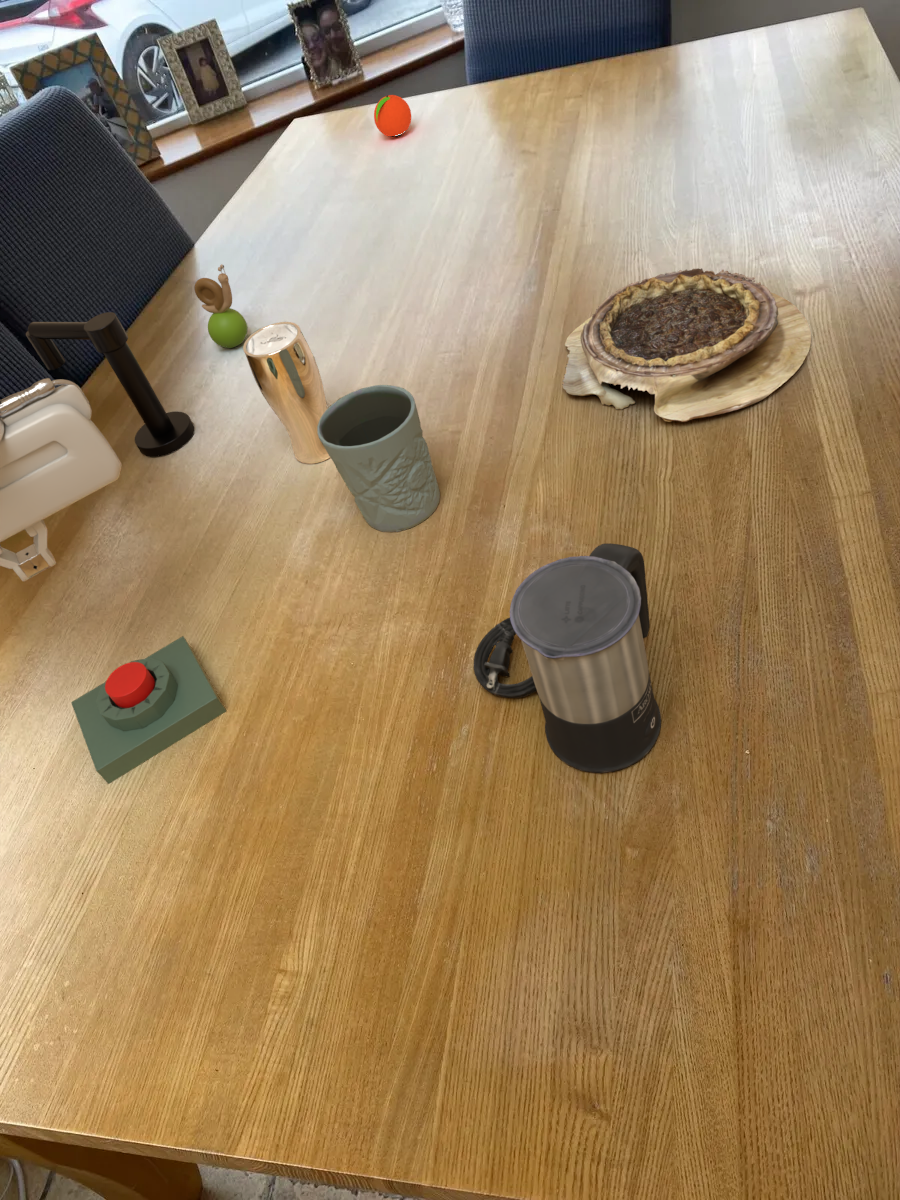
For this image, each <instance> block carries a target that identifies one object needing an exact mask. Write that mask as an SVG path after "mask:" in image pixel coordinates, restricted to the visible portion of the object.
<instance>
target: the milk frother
mask: <svg viewBox="0 0 900 1200" xmlns="http://www.w3.org/2000/svg"><path fill="white" fill-rule="evenodd" d="M509 607H510V608H509V617H507V618H504V619H503V620H502V621H500V622H499V623H497V624H495V626H493V628H491V629H490V630H489V631H488V632H487V633H486V634H484V636H483V637H482V640H481V641H480V642H479V643H478V645H477V647H476V650H475V652H474V655H473V656H474V657H473V673H474V676H475V678H476V680H477V682H478V684H480V686H481V687H482V688H483V689H484V690H485V691H487V692H488V693H489V694H492V695H493V696H496V697H501V698H506V699H520V698H525V697H527V696H529V695H532V694H534V693H536V692H537V696H538V699H539V702H540V705H541V709H542V713H543V717H544V721H545V723H544V724H545V725H544V734H545V737H546V741H547V743H548V745H549V747H550V749H551V751H552V752H553V753H554V755H555V756H556V757H557V758H558V759H559V760H560V761H562V762H563V763H565V764H566V765H567V766H569V767H571V768H574V769H576V770H579V771H581V772H587V773H593V774H594V773H596V774H603V773H612V772H617V771H620V770H624V769H627V768H629V767H630V766H633V765H635V764H636V763H638V762H639V761H641V760H642V759H644V757H645V756H647V754H649V752H650V751H651V750H652V749H653V747H654V746H655V744H656V742H657V741H658V737H659V735H660V732H661V728H662V716H661V715H662V714H661V710H660V707H659V704H658V702H657V700H656V698H655V695H654V691H653V686H652V680H651V676H650V675H651V674H650V669H649V664H648V663H649V662H648V657H647V652H646V646H645V641H644V639H646V638H647V637H648V636H649V632H650V627H651V624H650V612H649V601H648V590H647V579H646V567H645V559H644V556H643V553H642V552H641V551H640V550H639V549H637V548H636V547H632V546H629V545H624V544H618V543H612V542H611V543H609V542H608V543H602V544H599V545H597V546H596V547H595V548H594V549H593V550H592V551H591V553H590V554H589V555H584V556H583V555H578V556H568V557H564V558H560V559H559V558H558V559H557V560H555V561H552V562H549V563H547V564H545V565H543V566H541V567H539V568H538V569H536V570H534V571H533V572H531V573H530V574H529V575H528V576H527V577H525V579H524V580H523V581H522V582H521V583H520V584H519V586H518V587H517V588H516V589H515V591H514V594H513V596H512V599H511V603H510V606H509ZM515 635H516V636H517V637H518V638H519V640H520V642H521V645H522V649H523V651H524V654H525V657H526V660H527V663H528V666H529V670H530V673H531V676H530V677H528V678H526V679H525V680H522V681H520V682H517V683H512V684H510V683H502V682H499V677H500V676H502V677H505V678H510V675H511V674H510V672H509V668H510V661H511V654H512V653H513V650H514V649H512V648H513V647H512V644H513V642H514V641H515ZM489 657H490V658H489Z"/></svg>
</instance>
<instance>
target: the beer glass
mask: <svg viewBox="0 0 900 1200" xmlns="http://www.w3.org/2000/svg"><path fill="white" fill-rule="evenodd" d="M242 348H243V349H242V350H243V353H244V355H245V357H246V360H247V363H248V365H249V368H250V371H251V374H252V376H253V378H254V381H255V382H256V385H257V387H258V389H259V391H260V393H261V394H262V396H263V398H264V399H265V401H266V403H267V404H268V405H269V407H270V408H271V410H272V411H273V412H274V414H275V415H276V417H277V418H278V420H279V421H280V422H281V423H282V425H283V427H284V428H285V430H286V431H287V434H288V436H289V439H290V442H291V446H292V452H293V454H294V457H295V459H296V460H297V461H298V462H299V463H302V464H306V465H312V464H319V463H322V462H325V461H327V460H329V459H331V457H330V456H329V454H328V453H327V451H326V449H325V448H324V446H323V444H322V442H321V441H320V439H319V437H318V432H317V426H318V423H319V420H320V418H321V416H322V415H323V414H324V412H325V411H326V410H327V409H328V408H329V407H328V405H327V400H326V396H325V395H326V394H325V390H324V385H323V381H322V377H321V372H320V369H319V367H318V364H317V362H316V358H315V356H314V353H313V351H312V350H311V347H310V346H309V344H308V341H307V339H306V338H305V336H304V334H303V332H302V330H301V327H300V325H298V324H297V323H295V322H292V321H279V322H274V323H271V324H268V325H266V326H263V327H261V328H259V329H258V330H256V331H254V332H253V333H252V334H250V335H249V336H248V337H247V339H246V340H244V342H243V347H242Z"/></svg>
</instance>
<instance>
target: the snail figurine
mask: <svg viewBox="0 0 900 1200" xmlns="http://www.w3.org/2000/svg"><path fill="white" fill-rule="evenodd" d="M222 270H223V272H224V273H223V272H222ZM217 271H219V272H220V273H219V274H218V275H217V280H218V282H217V281H216V280H214V279H212V278H209V277H201V278H199V279H197V280H196V282H195V284H194V287H193V288H194V293H195V296H196V297H197V299H198V300H199V301H200V302H201V303H203V304H201V308H203V309H204V311H206V312H208V313H210V314H211V315H210V317H209V318H208V322H207V331H208V335H209V337H210V339H211V340H212V341H213V342H214V343H215V344H216V345H218V346H220V347H222V348H226V349H232V348H235V347H238V346H240V345H241V344H242V343H244V342H245V339H246V337H247V335H248V325H247V322H246V319H245V317H244V316H243V315H242V314H241V313H240V312H239V311H237V310H236V309H234V308H231V307H232V305H233V294H232V288H231V284H230V282H229V277H228V274H227V273H226V271H225V265H224V264H223V263H222V264H221V263H220V265H219V266H218V267H217Z"/></svg>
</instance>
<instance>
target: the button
mask: <svg viewBox="0 0 900 1200" xmlns="http://www.w3.org/2000/svg"><path fill="white" fill-rule="evenodd" d="M129 662H130V663H129ZM129 662H127V663H123V664H122V665H120V666H117V668H115V669H114V670H113V671H112V672H111V673H110V674H109V675H108V677H107V679H106V680H107V681H106V680H105V681H106V684H105V690H106V693H107V694H108V695H109V696H110V698H111V699H112V700H113V701H114V702H115V704H116V705H117V706H119V707H122V708H130V707H134V706H135V705H137V704H139V703H140V702H142V701H144V700H145V699H146V698H147V697H148V696H149V695H150V693H151V692H152V691H153V690H154V687H155V680H154V678H153V676H152V675H151V674H150V672H149V671H148V670H147V668H146V667H145V666H144V665H143V664H141V663H139V662H131V661H129Z"/></svg>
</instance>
